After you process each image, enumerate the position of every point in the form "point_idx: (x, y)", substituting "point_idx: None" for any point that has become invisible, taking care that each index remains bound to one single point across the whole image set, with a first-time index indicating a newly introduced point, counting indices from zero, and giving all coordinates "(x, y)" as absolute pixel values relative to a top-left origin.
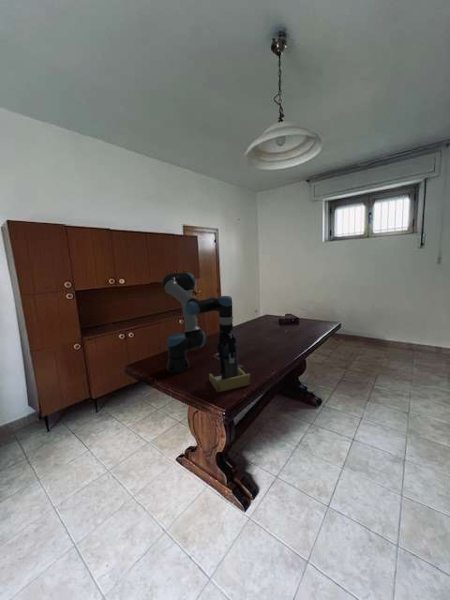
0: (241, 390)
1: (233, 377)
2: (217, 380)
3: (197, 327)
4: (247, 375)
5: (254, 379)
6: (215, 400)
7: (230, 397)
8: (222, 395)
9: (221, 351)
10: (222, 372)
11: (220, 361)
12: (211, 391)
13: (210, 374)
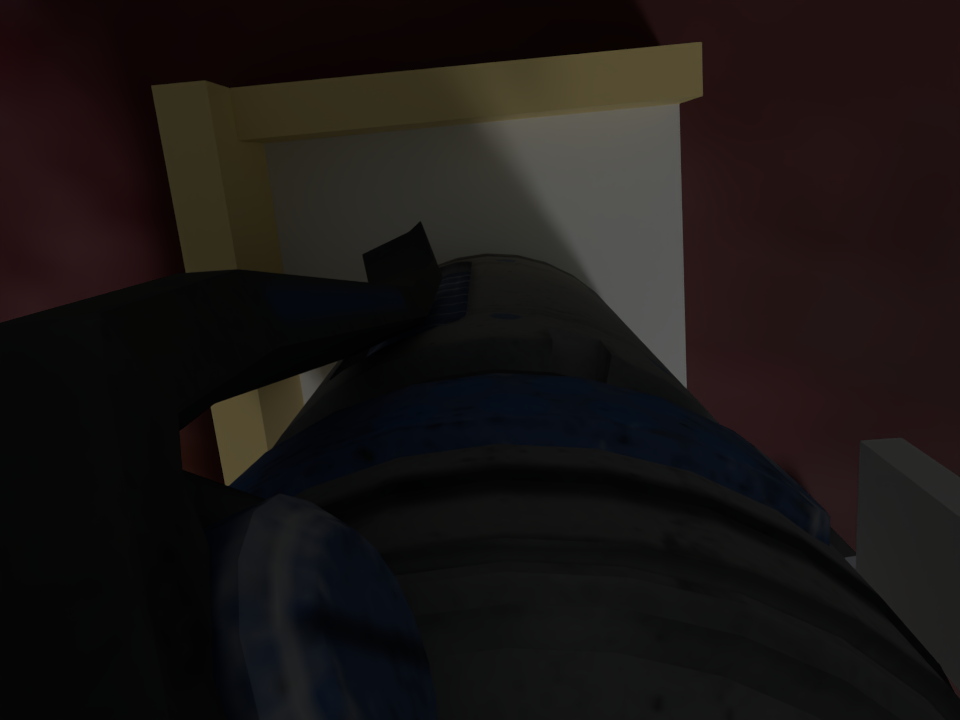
0: (186, 449)
1: (249, 430)
2: (537, 182)
3: None
4: None
5: None
6: (8, 11)
7: (41, 250)
8: (121, 152)
9: (327, 444)
10: (367, 268)
11: (410, 287)
12: (283, 11)
13: (661, 68)
